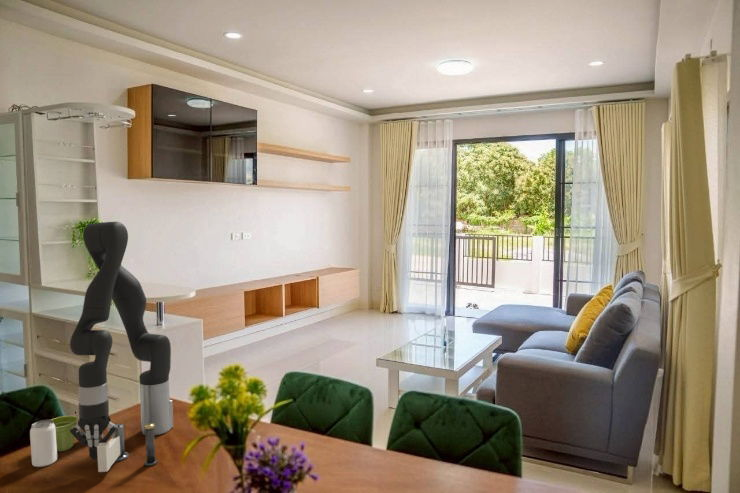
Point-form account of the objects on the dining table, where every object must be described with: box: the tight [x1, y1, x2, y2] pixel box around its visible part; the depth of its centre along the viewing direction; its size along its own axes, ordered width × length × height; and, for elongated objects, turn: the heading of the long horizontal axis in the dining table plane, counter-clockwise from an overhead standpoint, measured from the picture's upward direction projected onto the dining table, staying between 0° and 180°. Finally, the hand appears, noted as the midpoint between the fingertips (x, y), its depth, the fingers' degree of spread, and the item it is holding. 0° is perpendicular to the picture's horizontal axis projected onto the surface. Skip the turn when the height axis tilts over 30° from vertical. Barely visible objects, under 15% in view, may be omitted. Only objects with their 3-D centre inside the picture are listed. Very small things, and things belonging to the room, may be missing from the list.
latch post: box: [144, 423, 159, 467], centre depth 154 cm, size 4×4×12 cm
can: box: [29, 419, 58, 468], centre depth 156 cm, size 6×6×12 cm
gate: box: [97, 436, 120, 473], centre depth 151 cm, size 10×2×8 cm, turn 6°
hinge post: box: [112, 423, 130, 463], centre depth 158 cm, size 5×5×10 cm
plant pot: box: [50, 415, 79, 452], centre depth 165 cm, size 9×9×9 cm
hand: (95, 457), depth 150 cm, fingers closed
